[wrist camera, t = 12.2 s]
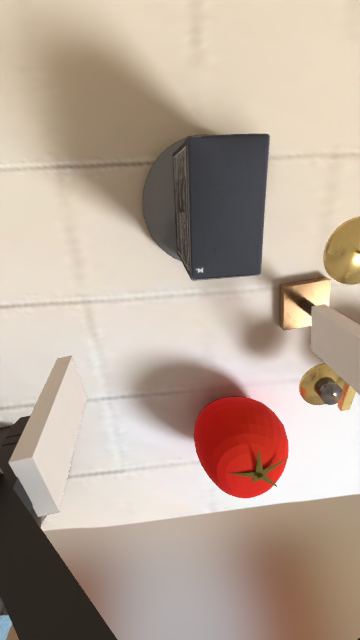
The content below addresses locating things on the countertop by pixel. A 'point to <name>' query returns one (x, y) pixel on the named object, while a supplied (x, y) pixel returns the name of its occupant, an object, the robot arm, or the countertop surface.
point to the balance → (298, 298)
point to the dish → (162, 201)
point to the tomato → (241, 445)
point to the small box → (220, 204)
